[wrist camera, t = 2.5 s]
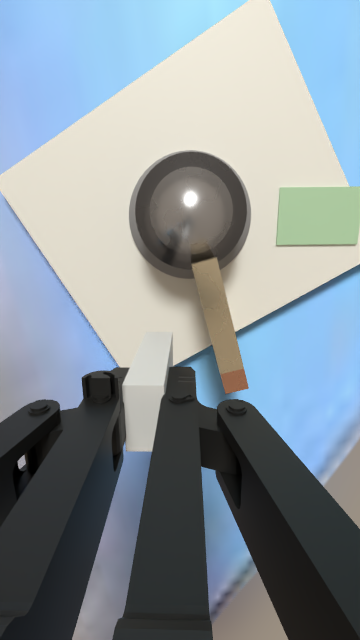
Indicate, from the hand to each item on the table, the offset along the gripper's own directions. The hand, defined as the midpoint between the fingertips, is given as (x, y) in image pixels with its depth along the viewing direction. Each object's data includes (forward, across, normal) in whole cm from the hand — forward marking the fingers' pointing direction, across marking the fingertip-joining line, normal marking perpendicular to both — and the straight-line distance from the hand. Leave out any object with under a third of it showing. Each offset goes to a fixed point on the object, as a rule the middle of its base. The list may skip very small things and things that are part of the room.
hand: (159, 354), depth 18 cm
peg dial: (+7, +3, +4) cm, 9 cm away
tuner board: (+9, +2, +8) cm, 12 cm away
